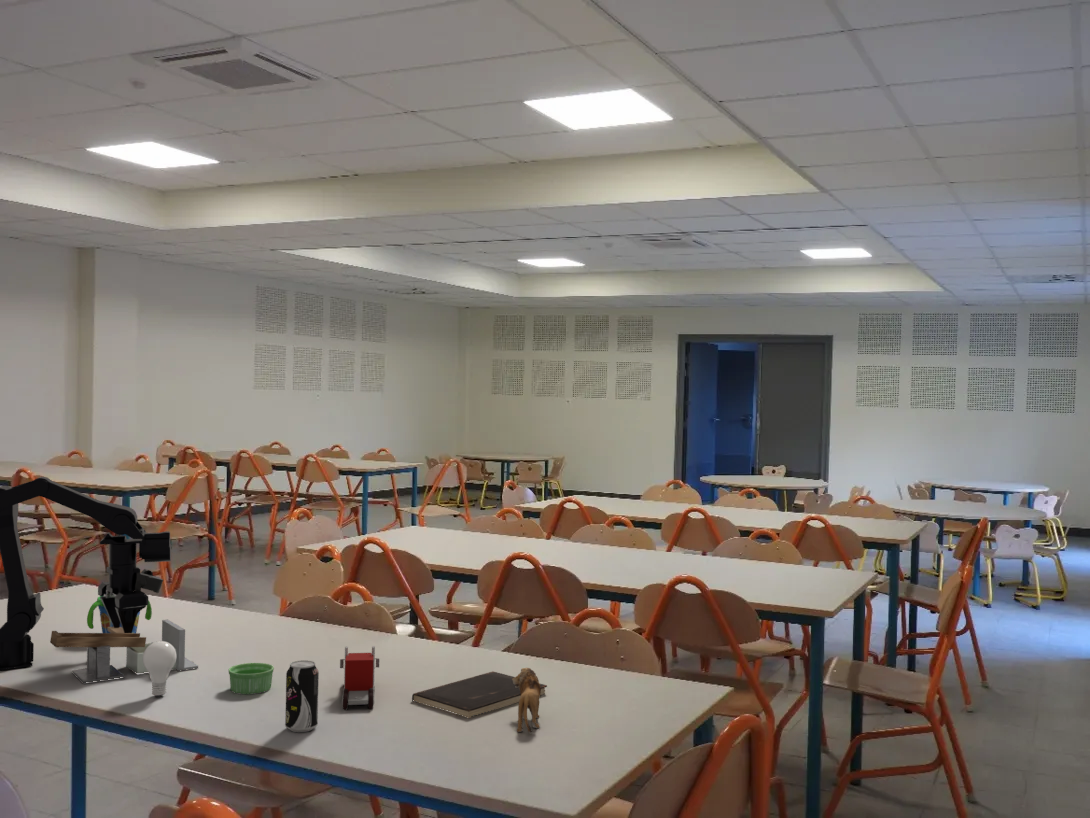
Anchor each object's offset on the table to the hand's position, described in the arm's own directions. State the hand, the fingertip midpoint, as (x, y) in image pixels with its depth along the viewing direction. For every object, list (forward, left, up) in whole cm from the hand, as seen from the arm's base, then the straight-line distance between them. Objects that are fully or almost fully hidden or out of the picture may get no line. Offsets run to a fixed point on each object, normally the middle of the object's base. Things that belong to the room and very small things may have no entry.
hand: (122, 631), depth 228 cm
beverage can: (+13, -67, -7) cm, 68 cm away
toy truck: (+31, -54, -7) cm, 63 cm away
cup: (+3, -11, -6) cm, 13 cm away
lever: (-8, -4, 0) cm, 9 cm away
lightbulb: (-2, -33, -7) cm, 33 cm away
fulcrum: (-8, -11, -6) cm, 14 cm away
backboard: (+9, -10, -6) cm, 15 cm away
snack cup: (+5, +21, -7) cm, 23 cm away
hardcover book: (+51, -69, -7) cm, 86 cm away
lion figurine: (+50, -87, -7) cm, 100 cm away
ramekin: (+15, -38, -7) cm, 41 cm away
